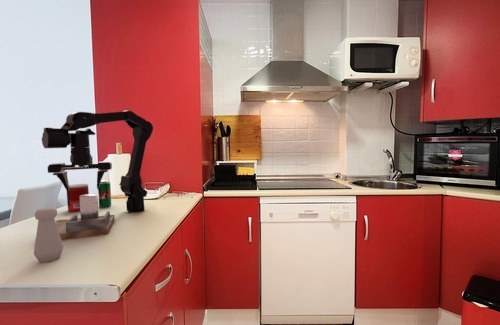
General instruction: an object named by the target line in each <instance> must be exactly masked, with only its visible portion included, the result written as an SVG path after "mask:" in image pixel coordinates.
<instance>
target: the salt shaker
mask: <svg viewBox="0 0 500 325" xmlns="http://www.w3.org/2000/svg"><path fill="white" fill-rule="evenodd" d="M57 215H58V211H57V209H56V208H55V207H43V208H40V209H37V210H36V211H35V212H34V219H35V220H38V222H37V227H36V234H35V241H34V249H33V256H34V257H35V259H36V260H37V261H38V262H39V261H40V262H39V263H42V262H46V263H50V262H49V261H51V262H54V261H56V260H58V259H60V258H59V257H61V255H62V252H63V250H64V243H63V240H61V237H60V234H59V232H58V229H57V226H56V223H55V222H56V220H55V217H57ZM57 258H58V259H57ZM55 259H56V260H55ZM53 260H54V261H53Z"/></svg>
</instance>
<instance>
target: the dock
mask: <svg viewBox="0 0 500 325" xmlns="http://www.w3.org/2000/svg"><path fill="white" fill-rule="evenodd" d="M115 218H116V217H115V213H113V214H111V211H109V210H108V211H106V213H105V214H103V215H99V219H91V220H81V217H78V214H77V213H75V214H73V215H72V216H71V217H69V218H63V219H62V218H61V219H56V220H55V223H56V226H57V229H58V232H59V234H60V237H61V240H62V241H63V240H71V239H74V240H75V239H79V238H88V237H96V236H97V237H98V236H104V235H109V233H110V231H111V229H112V227H113V225H114V222H115Z"/></svg>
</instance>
